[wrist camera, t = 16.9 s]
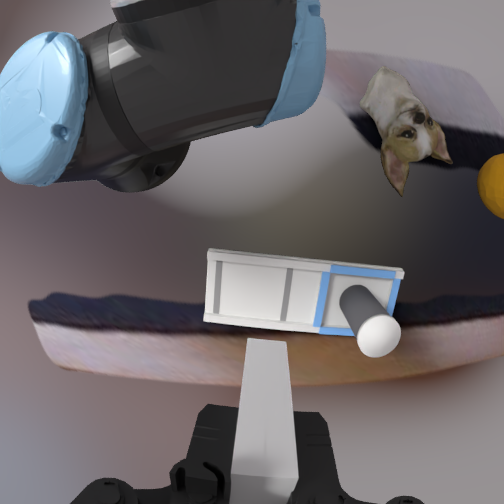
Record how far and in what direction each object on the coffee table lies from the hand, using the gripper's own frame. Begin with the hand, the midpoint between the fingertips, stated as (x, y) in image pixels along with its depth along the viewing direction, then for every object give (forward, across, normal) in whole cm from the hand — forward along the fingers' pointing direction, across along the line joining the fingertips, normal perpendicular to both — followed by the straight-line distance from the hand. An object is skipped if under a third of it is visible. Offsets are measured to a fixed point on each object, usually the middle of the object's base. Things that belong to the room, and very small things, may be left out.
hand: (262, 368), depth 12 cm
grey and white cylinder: (+28, +13, -7) cm, 32 cm away
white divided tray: (+28, +6, -7) cm, 30 cm away
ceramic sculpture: (+29, +15, +16) cm, 36 cm away
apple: (+29, +32, +12) cm, 45 cm away
